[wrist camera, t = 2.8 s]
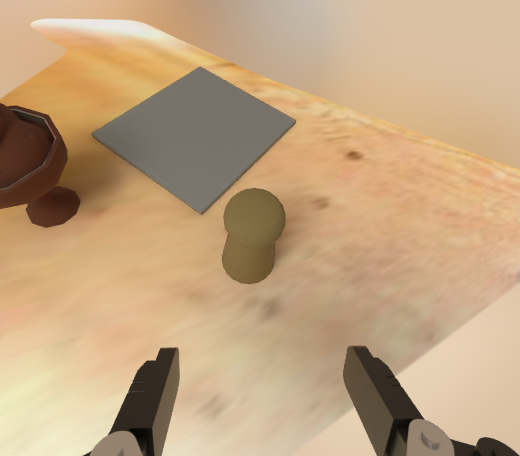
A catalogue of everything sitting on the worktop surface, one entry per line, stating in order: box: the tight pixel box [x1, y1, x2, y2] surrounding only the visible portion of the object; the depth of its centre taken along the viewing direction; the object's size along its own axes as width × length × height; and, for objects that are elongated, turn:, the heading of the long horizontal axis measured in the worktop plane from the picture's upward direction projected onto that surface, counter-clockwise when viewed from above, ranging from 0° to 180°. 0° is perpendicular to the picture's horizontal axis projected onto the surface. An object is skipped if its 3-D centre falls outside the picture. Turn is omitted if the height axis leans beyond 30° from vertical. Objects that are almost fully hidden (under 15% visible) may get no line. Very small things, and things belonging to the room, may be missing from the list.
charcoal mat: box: [91, 67, 296, 215], centre depth 39 cm, size 22×20×1 cm
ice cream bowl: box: [0, 103, 80, 228], centre depth 24 cm, size 11×11×15 cm
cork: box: [222, 188, 285, 284], centre depth 25 cm, size 6×6×11 cm
